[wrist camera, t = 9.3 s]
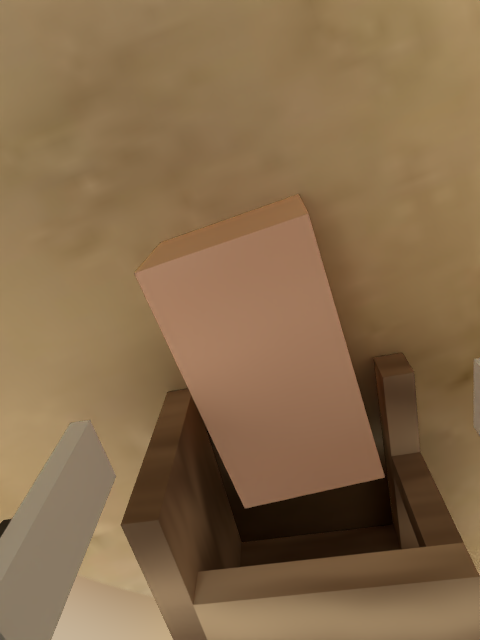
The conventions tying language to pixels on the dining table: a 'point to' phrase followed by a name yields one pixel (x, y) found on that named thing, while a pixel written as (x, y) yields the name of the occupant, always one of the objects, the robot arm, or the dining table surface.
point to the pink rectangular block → (263, 352)
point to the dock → (300, 545)
